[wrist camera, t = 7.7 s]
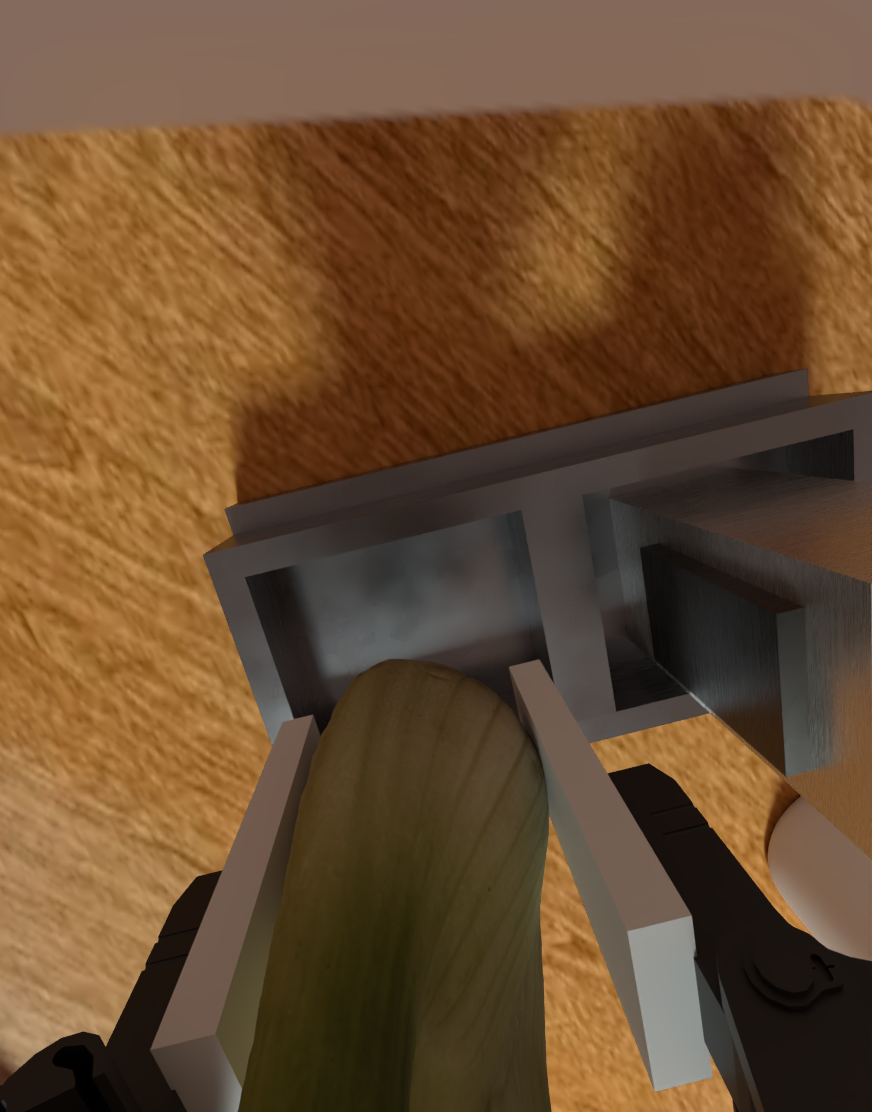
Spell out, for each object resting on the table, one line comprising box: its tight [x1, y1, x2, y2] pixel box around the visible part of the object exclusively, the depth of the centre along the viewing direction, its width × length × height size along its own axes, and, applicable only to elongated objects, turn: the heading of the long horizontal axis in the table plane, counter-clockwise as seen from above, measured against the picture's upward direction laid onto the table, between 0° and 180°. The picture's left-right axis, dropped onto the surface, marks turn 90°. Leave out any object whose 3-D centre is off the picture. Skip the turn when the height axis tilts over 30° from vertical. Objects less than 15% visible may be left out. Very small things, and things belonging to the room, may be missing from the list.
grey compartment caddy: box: [203, 368, 872, 860], centre depth 15 cm, size 22×12×12 cm, turn 103°
